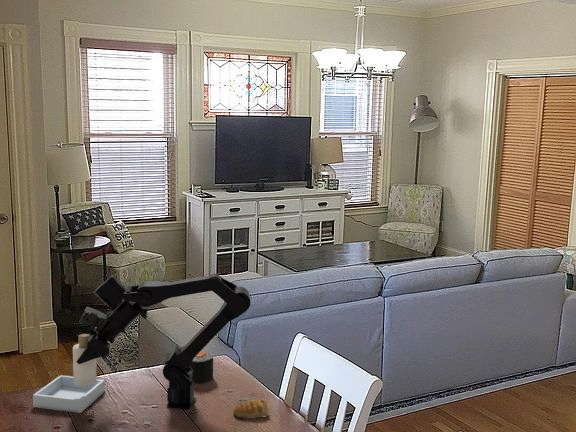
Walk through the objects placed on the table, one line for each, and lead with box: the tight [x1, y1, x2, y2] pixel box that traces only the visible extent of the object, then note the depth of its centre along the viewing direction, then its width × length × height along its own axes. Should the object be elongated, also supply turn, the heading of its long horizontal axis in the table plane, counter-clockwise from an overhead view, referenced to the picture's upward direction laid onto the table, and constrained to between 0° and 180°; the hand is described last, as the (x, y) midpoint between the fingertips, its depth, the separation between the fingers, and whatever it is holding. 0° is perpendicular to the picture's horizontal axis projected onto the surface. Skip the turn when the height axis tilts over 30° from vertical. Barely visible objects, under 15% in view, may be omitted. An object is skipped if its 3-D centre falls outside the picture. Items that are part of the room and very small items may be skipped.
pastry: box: [233, 398, 270, 419], centre depth 176 cm, size 9×7×4 cm
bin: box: [32, 374, 106, 414], centre depth 182 cm, size 14×14×4 cm
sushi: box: [190, 350, 214, 384], centre depth 198 cm, size 8×8×8 cm
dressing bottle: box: [72, 333, 97, 386], centre depth 176 cm, size 6×6×13 cm
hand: (79, 358), depth 176 cm, fingers closed on dressing bottle, 6 cm apart
